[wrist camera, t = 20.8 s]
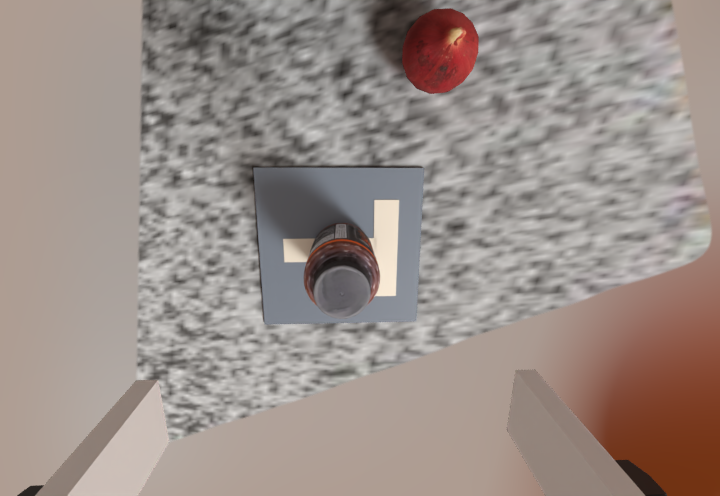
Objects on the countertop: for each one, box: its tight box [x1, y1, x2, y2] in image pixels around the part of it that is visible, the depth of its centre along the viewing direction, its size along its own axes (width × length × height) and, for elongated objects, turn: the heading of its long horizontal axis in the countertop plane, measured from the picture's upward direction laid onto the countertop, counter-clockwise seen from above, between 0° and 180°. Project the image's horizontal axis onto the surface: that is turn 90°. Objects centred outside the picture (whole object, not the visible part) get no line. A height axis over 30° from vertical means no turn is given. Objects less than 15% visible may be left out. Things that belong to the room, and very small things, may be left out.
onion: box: [402, 9, 479, 94], centre depth 27 cm, size 6×6×8 cm
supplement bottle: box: [304, 223, 380, 319], centre depth 30 cm, size 6×6×11 cm
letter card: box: [253, 167, 424, 324], centre depth 35 cm, size 16×16×1 cm
